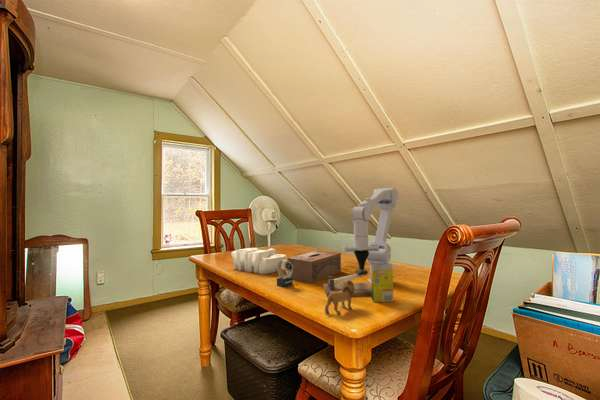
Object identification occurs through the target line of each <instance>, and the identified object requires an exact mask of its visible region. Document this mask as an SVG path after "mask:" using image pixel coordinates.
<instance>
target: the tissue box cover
mask: <svg viewBox="0 0 600 400" xmlns="http://www.w3.org/2000/svg"><path fill="white" fill-rule="evenodd" d="M341 255H342V252H335V251H326V250H314V251H310V252H306V253H303V254H302V253H301V254H298V255H294V256H289V257H286V258H287V259H286V260H288V261H290V262H291V263H292V264H293V273H292V275H291V276H290V277H292V278H293V281H294V280H295V281H299V282H303V283H307V284H308V283H309V284H313V283H317V282H318V281H321V280H324V279H327V278H328V276H334V275H336V274H338V273H341V272H342V263H341V262H342V259H341V258H342V257H341Z"/></svg>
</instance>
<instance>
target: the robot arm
mask: <svg viewBox="0 0 600 400" xmlns="http://www.w3.org/2000/svg"><path fill="white" fill-rule="evenodd" d="M398 198H399V194H398V190H397V188H396V187H384V188H383V187H381V188H375V189H374V190H373V193H372V195H371V197H370V198H369V197H366V198H365V199H364V200H363V201H362V202H361V203H360V204H359V205H358V206H354V207H353V208H352V209H351V211H350V218H351V221H352V222H351V223H352V225H353V245H351V246H350V245H349V246H348V245H347V246H346V245H345V246H343V247H342V252H344V253H347V252H348V253H350V252H351V253H352V252H353V253H354V256H355V258H356V260H357V263H358V270H359V269H360V270H364V268H365V265H366V262H367V261H368V263H369V276H370V277H369V278H367V279H366V280H367V281H368V282H369V283H370V284H371V285H372V282H371V274H373V270H392V275H393V273H394V271H393V266H392V263H391V262H390V261H391V256H392V254H391V253H392V252H391V250H392V249H391V245H389V244H388V243H387V239H388V234H389V229H390V224H391V219H392V214H393V209H395V208H396V206H397V204H398ZM376 208H379V209H380V214H379V219H378V224H377V228H376V233H375V237H374V240H373V241H371V242H369V220H370V219H371V215H372V213H373V212H374V211H375V210H376ZM379 273H387V272H384V271H382V272H379ZM393 276H394V275H393ZM393 285H394V282H393Z"/></svg>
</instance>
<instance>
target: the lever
mask: <svg viewBox="0 0 600 400" xmlns="http://www.w3.org/2000/svg"><path fill="white" fill-rule="evenodd" d="M354 271H355V273H354V274H350V275H345V276H340V277H337V278H333V279H334V284H337V283H341V282H342V283H343V282H344V281H346V280H354V279H358V278H362V277H366V276H368V274H369V273H368V272H369V271H368V270H367V269H366V268H365V267H364V270H360V269H359V268H358V269H355V270H354ZM330 279H331V278H330ZM330 279H329V280H328V279H327V280H328V281H327V283H328V282H329V284H330Z"/></svg>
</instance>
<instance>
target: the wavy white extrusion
mask: <svg viewBox="0 0 600 400" xmlns="http://www.w3.org/2000/svg"><path fill="white" fill-rule="evenodd" d="M276 250H277V249H276V248H268V249H267V250H264V249H259V248H258V247H248V248H241V249H236V250H234V251H231V253H230V256H231V259H232V263H233V268H234V270H238V271H244V272H248V273H252V272H253V273H255V274H260V275H266V274H267V275H268V274H272V273H278V270H277V265H278V262H279V261H281V260H287V259H286V258H288V256H287V255H286V254H280V253H279V254H277V253H276ZM281 267H282V268H283V262H282V264H281Z"/></svg>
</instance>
